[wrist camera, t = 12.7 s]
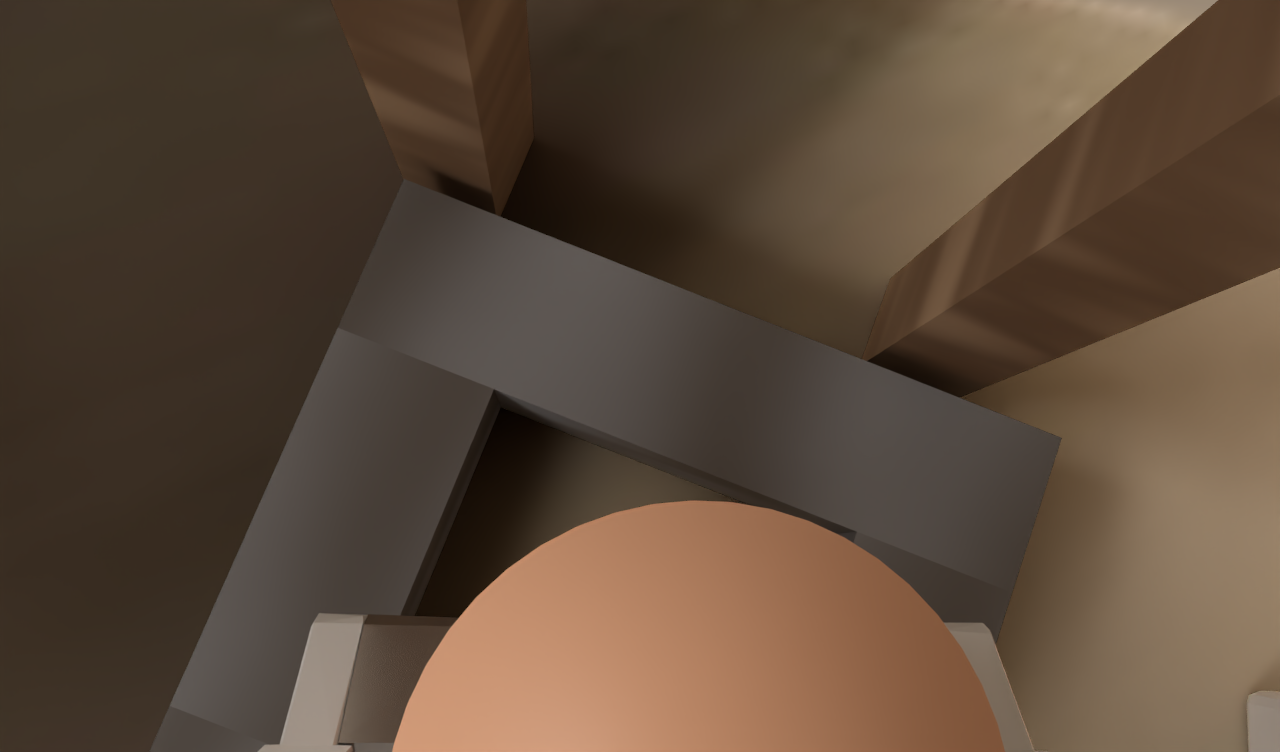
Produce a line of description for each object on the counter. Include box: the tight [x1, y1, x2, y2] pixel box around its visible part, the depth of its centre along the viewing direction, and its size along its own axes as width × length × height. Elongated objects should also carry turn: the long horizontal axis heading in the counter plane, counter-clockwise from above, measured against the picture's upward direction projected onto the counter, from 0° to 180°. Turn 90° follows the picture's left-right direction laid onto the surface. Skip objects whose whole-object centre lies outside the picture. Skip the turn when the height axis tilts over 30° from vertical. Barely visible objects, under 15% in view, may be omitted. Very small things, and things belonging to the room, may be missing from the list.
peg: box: [392, 500, 1005, 752], centre depth 13 cm, size 4×4×12 cm
